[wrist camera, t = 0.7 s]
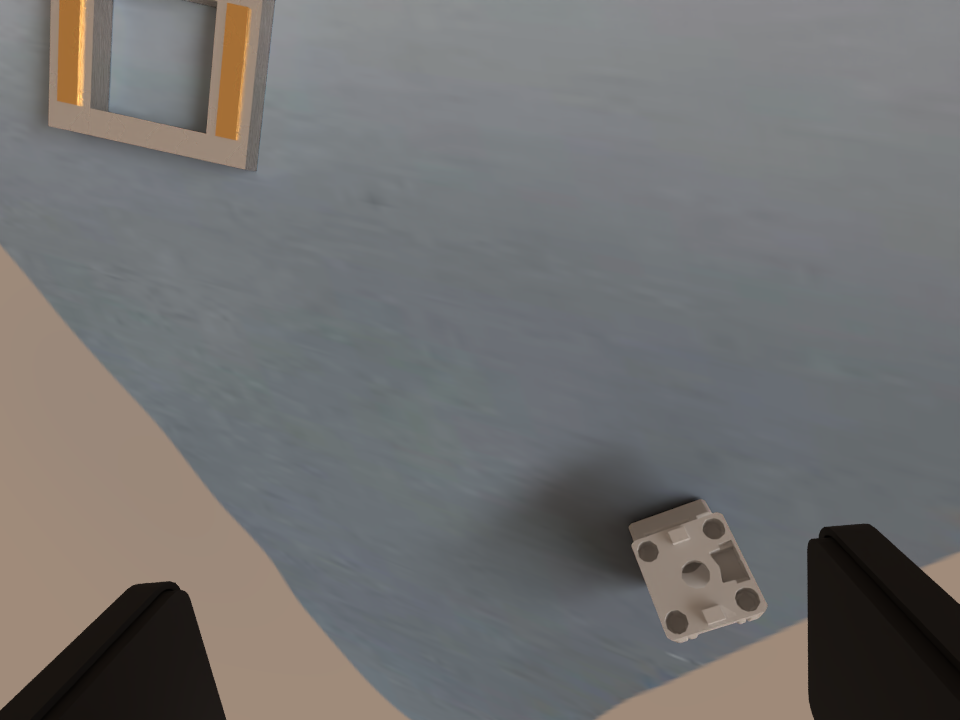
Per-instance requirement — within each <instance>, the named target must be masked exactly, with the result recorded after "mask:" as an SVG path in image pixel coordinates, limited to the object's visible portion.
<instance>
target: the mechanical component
mask: <svg viewBox="0 0 960 720" xmlns="http://www.w3.org/2000/svg"><path fill="white" fill-rule="evenodd" d="M629 530H630V533H631V536H632V538H633V541H634V542H633V543H632V545H631V546H632V549H633V551H634V554H635V556H636V559H637V562H638V564H639V567H640V569H641V572H642V574H643V577H644V580H645V582H646V585H647V587H648V590H649V592H650V595H651V598H652V600H653V603H654V605H655V608H656V610H657V613H658V616H659V618H660V621H661V623H662V626H663V628H664V631H665V634H666V636H667V638H669V639H671V640H672V641H675V642H677V643H682V642H685V641H688V638H690V639H695V638H697V636H698V634H701V633H704V632H707V631H710V630H713V629H717V628H720V627H723V626H726V625H729V624H733V623H736V622H737V623H739V624H742V623H745V622H746V620H748V621H752V620H755V619H758V618H759V617H760V616H761V615H762V614H763V613H764V612H765V610H766V608H767V606H768V605H767V603H766V601H765V599H764V597H763V595H762V593H761V591H760V589H759V587H758V585H757V583H756V581H755V579H754V577H753V575H752V573H751V571H750V569H749V567H748V565H747V563H746V561H745V559H744V557H743V555H742V553H741V551H740V549H739V547H738V545H737V543H736V541H735V539H734V537H733V535H732V533H731V531H730V529H729V527H728V525H727V523H726V521H725V519H724V517H723V515H722V514H720V513H717V512H716V513H713V514H712V512H711V511H710V509H709V507H708V505H707V504H706V502H705V500H702V499H699V500H696V501H694V502H691V503H688V504H685V505H682V506H680V507H677V508H674V509H671V510H668V511H665V512H663V513H660V514H657V515H654V516H651V517H649V518H646V519H643V520H640V521H637V522H634V523H632V524H630V526H629Z"/></svg>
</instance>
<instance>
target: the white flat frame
mask: <svg viewBox="0 0 960 720" xmlns="http://www.w3.org/2000/svg"><path fill="white" fill-rule="evenodd" d="M184 1H189V2H193V3H198V4H203V5H207V6H212V7H216V8H217V13H216V25H215V36H214V48H213V60H212V71H211V83H210V95H209V106H208V118H207V130H206V134H205V133H200V132H196V131H191V130H187V129H182V128H178V127H173V126H169V125H164V124H160V123H155V122H151V121H146V120H142V119H137V118H132V117H128V116H123V115H119V114H114V113H110V112H108V100H109V78H110V55H111V33H112V10H113V0H51V23H50V73H49V123H48V126H51V127H56V128H60V129H65V130H69V131H74V132H78V133H83V134H87V135H92V136H96V137H101V138H105V139H110V140H114V141H119V142H123V143H128V144H132V145H137V146H141V147H146V148H150V149H155V150H159V151H164V152H168V153H173V154H177V155H182V156H186V157H191V158H195V159H200V160H205V161H209V162H214V163H218V164H223V165H227V166H232V167H236V168H241V169H245V170H251V171H256V170H257V161H258V151H259V142H260V133H261V124H262V114H263V105H264V96H265V87H266V78H267V68H268V59H269V50H270V41H271V32H272V22H273V13H274V4H275V0H184Z"/></svg>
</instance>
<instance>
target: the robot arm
mask: <svg viewBox="0 0 960 720" xmlns="http://www.w3.org/2000/svg"><path fill="white" fill-rule="evenodd" d="M807 569H808V694H809V703H810V708H811V711H812V715H813V717H814V720H960V604H959V603H957V602H956V601H955V600H954V599H953V598H952V597H951V596H950V595H948V593H946V592H945V591H944V590H943V589H942V588H941V587H940V586H939V585H938V584H936V583H935V582H934V581H933V580H932V579H931V578H930V577H929V576H928V575H926V574H925V573H924V572H923V571H922V570H921V569H920V568H919V567H918V566H917V565H915V564H914V563H913V562H912V561H911V560H910V559H909V558H908V557H907V556H906V555H904V554H903V553H902V552H901V551H900V550H899V549H898V548H897V547H896V546H894V545H893V544H892V543H891V542H890V541H889V540H888V539H887V538H886V537H885V536H883V535H882V534H881V533H880V532H879V531H878V530H877V529H876V528H874V527H873V526H871V525H870V524H855V525H843V526H830V527H824V528H822V529H821V531H820V534H819V538H816V539H811V540H809V543H808V548H807ZM0 720H226V717H225V714H224V710H223V707H222V704H221V700H220V697H219V694H218V691H217V687H216V684H215V680H214V677H213V674H212V670H211V667H210V664H209V661H208V657H207V654H206V650H205V647H204V644H203V640H202V637H201V634H200V630H199V627H198V624H197V621H196V617H195V614H194V610H193V607H192V603H191V600H190V598H189V595H188V594H187V593H186V592H185V591H183V590H180V588H179V586H178V585H177V584H176V583H173V582H170V581H168V582H156V583H144V584H137V585H133V586H131V587H130V588H128V589H127V590H126V591H125V592H124V593H123V594H122V595H121V596H120V597H119V598H118V599H117V600H116V601H115V602H114V603H112V604H111V605H110V606H109V607H108V608H107V609H106V610H105V611H104V612H103V613H102V614H101V615H100V616H99V617H98V618H97V619H96V620H95V621H94V622H93V623H91V624H90V625H89V626H88V627H87V628H86V629H85V630H84V631H83V632H82V633H81V634H80V635H79V636H78V637H77V638H76V639H75V640H74V641H73V642H72V643H70V645H69V646H67V647H66V648H65V649H64V650H63V651H62V652H61V653H60V654H59V655H58V656H57V657H56V658H55V659H54V660H53V661H52V662H51V663H50V664H48V666H47V667H45V668H44V670H42V671H41V672H40V673H39V674H38V675H37V676H36V677H35V678H34V679H33V680H32V681H31V682H30V683H29V684H28V685H27V686H25V687H24V688H23V689H22V690H21V691H20V692H19V693H18V694H17V695H16V696H15V697H14V698H13V699H12V700H11V701H10V702H9V703H8V704H7V705H6V706H5V707H3V708H2V709H1V710H0Z"/></svg>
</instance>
